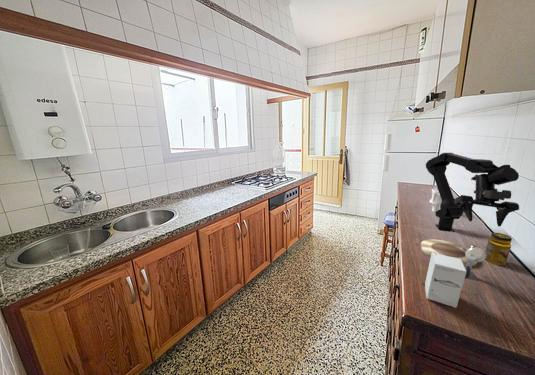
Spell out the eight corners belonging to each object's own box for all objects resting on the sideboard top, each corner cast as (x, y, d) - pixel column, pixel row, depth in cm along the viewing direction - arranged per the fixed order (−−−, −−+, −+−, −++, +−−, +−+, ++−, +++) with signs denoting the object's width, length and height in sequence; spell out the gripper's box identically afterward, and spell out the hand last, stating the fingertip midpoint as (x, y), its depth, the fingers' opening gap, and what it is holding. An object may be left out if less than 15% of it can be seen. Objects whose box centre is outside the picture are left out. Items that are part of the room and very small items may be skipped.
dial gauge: (450, 266, 82) (457, 236, 79) (466, 269, 81) (475, 238, 77) (460, 279, 75) (468, 247, 72) (478, 283, 73) (488, 250, 70)
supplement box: (426, 299, 66) (433, 263, 63) (424, 285, 73) (431, 251, 69) (457, 309, 63) (467, 271, 59) (452, 293, 69) (461, 258, 66)
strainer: (434, 213, 134) (439, 190, 130) (425, 209, 140) (429, 187, 136) (444, 212, 134) (449, 189, 130) (434, 208, 141) (439, 186, 137)
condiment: (509, 271, 79) (519, 241, 76) (478, 264, 83) (486, 236, 80) (501, 260, 86) (509, 233, 82) (472, 255, 90) (480, 228, 86)
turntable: (415, 239, 100) (416, 236, 100) (463, 246, 94) (464, 243, 94) (428, 261, 84) (428, 257, 83) (487, 271, 78) (488, 267, 77)
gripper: (468, 177, 87) (467, 215, 83) (530, 185, 81) (532, 225, 77) (454, 186, 97) (452, 220, 93) (508, 193, 91) (509, 230, 87)
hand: (484, 223), depth 88 cm, fingers open, 9 cm apart
